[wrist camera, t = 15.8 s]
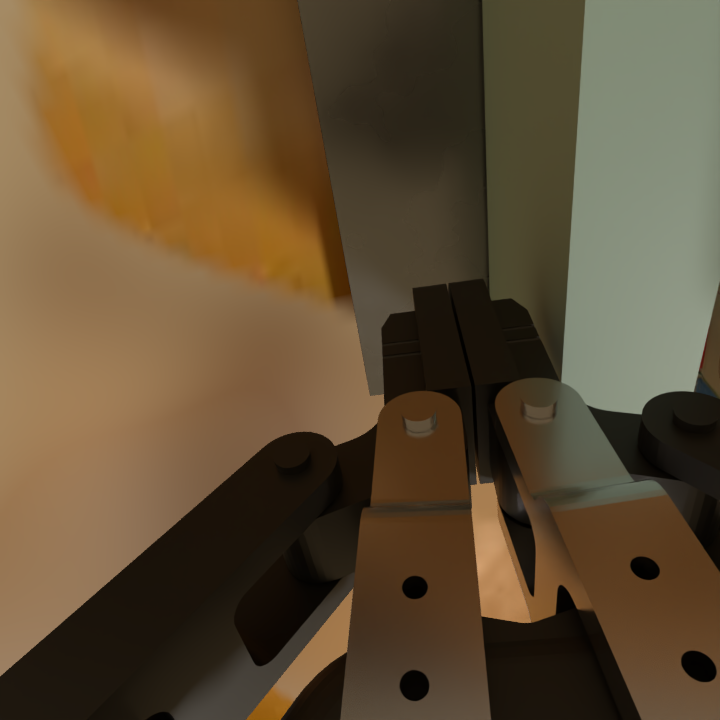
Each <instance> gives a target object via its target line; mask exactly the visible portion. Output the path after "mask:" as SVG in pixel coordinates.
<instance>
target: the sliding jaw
mask: <svg viewBox="0 0 720 720" xmlns="http://www.w3.org/2000/svg"><path fill="white" fill-rule="evenodd" d="M482 12H483V52H484V91H485V130H486V170H487V209H488V248H489V288H490V298H491V301H493V300H501V299H508V298H512V299H513V300H515V301H516V302H517V303H519V304H520V305H522V306H523V307H524V308H526V309H527V310H528V312H529V314H530V317H531V319H532V321H533V323H534V327H535V328H536V330H537V332H538V334H539V336H540V340H541V341H542V343H543V345H544V347H545V349H546V352H547V354H548V356H549V358H550V360H551V363H552V365H553V367H554V369H555V371H556V374H557V376H558V378H559V380H560V382H562V383H564V384H567V385H569V386H570V387H572V388H573V389H574V390H576V391H577V392H578V393H579V395H580V396H581V397H582V399H583V400H584V402H585V404H586V405H588V406H591V407H594V408H598V409H602V410H607V411H614V412H624V413H633V414H642V410H643V408H644V406H645V404H646V403H647V402H648V401H649V400H650V399H652V398H653V397H655V396H658V395H660V394H663V393H667V392H674V391H690V392H694V389H695V385H696V380H697V376H698V372H699V367H700V363H701V359H702V355H703V350H704V346H705V342H706V338H707V333H708V329H709V325H710V321H711V316H712V312H713V308H714V304H715V299H716V295H717V291H718V287H719V282H720V0H482Z"/></svg>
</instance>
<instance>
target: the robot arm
mask: <svg viewBox="0 0 720 720" xmlns="http://www.w3.org/2000/svg"><path fill="white" fill-rule="evenodd" d="M412 292H413V300H414V309H415V311H409V312H402V313H394V314H390V315H389V317H388V319H387V320H386V322H385V323H384V325H383V326H382V328H381V335H382V357H383V382H384V405H385V406H384V407H383V408H382V410H381V412H380V414H379V417H378V423H377V424H376V425H375V426H374V427H373V428H372V429H371V430H369V431H368V432H367V433H365V434H363V435H361V436H360V437H358V438H355V439H353V440H350V441H348V442H345V443H342V444H339V445H337V446H334V445H333V443H332V442H331V441H330V440H329V439H328V438H326V437H324V436H323V435H320V434H317V433H312V432H296V433H291V434H287V435H284V436H282V437H279V438H277V439H275V440H273V441H272V442H270V443H269V444H267V445H266V446H265V447H264V448H262V449H261V450H260V451H259V452H258V453H257V454H255V455H254V456H253V457H252V458H251V459H250V460H249V461H248V462H246V463H245V464H244V465H243V466H242V467H241V468H239V469H238V470H237V471H236V472H235V473H234V474H232V475H231V476H230V477H229V478H228V479H227V480H226V481H224V482H223V483H222V484H221V485H220V486H219V487H218V488H216V489H215V490H214V491H213V492H212V493H211V494H209V496H207V497H206V498H205V499H204V500H203V501H202V502H200V503H199V504H198V505H197V506H196V507H195V508H193V509H192V510H191V511H190V512H189V513H188V514H186V515H185V516H184V517H183V518H182V519H181V520H180V521H178V522H177V523H176V524H175V525H174V526H173V527H172V528H170V529H169V530H168V531H167V532H166V533H165V534H164V535H162V536H161V537H160V538H159V539H158V540H157V541H155V542H154V543H153V544H152V545H151V546H150V547H149V548H147V549H146V550H145V551H144V552H143V553H142V554H141V555H139V556H138V557H137V558H136V559H135V560H134V561H133V562H132V563H130V564H129V565H128V566H127V567H126V568H125V569H123V570H122V571H121V572H120V573H119V574H118V575H116V576H115V577H114V578H113V579H112V580H111V581H110V582H108V583H107V584H106V585H105V586H104V587H103V588H101V589H100V590H99V591H98V592H97V593H96V594H95V595H93V596H92V597H91V598H90V599H89V600H88V601H86V602H85V603H84V604H83V605H82V606H81V607H80V608H78V609H77V610H76V611H75V612H74V613H73V614H72V615H70V616H69V617H68V618H67V619H66V620H65V621H64V622H62V623H61V624H60V625H59V626H58V627H57V628H55V630H53V631H52V632H51V633H50V634H49V635H47V636H46V637H45V638H44V639H43V640H42V641H40V642H39V643H38V644H37V645H36V646H35V647H34V648H33V649H31V650H30V651H29V652H28V653H27V654H26V655H24V656H23V657H22V658H21V659H20V660H19V661H18V662H16V663H15V664H14V665H13V666H12V667H11V668H9V669H8V670H7V671H6V672H5V673H4V674H3V675H1V676H0V720H246V719H247V717H248V716H249V715H250V714H251V713H252V711H253V710H254V709H255V708H256V706H257V705H258V704H259V703H260V702H261V700H262V699H263V698H264V697H265V695H266V694H267V693H268V692H269V690H270V689H271V688H272V687H273V686H274V684H275V683H276V682H277V681H278V679H279V678H280V677H281V676H282V675H283V673H284V672H285V671H286V670H287V668H288V667H289V666H290V665H291V663H292V662H293V661H294V660H295V658H296V657H297V656H298V655H299V654H300V652H301V651H302V650H303V649H304V648H305V646H306V645H307V644H308V643H309V641H310V640H311V639H312V638H313V637H314V635H315V634H316V633H317V631H318V630H319V629H320V628H321V627H322V625H323V624H324V623H325V622H326V621H327V619H328V618H329V617H330V616H331V614H332V613H333V612H334V611H335V610H336V608H337V607H338V606H339V605H340V603H341V602H342V601H343V600H344V598H345V597H346V596H347V595H348V594H349V592H350V591H351V590H352V589H353V598H352V609H351V618H350V628H349V638H348V648H347V652H346V653H345V654H344V655H342V656H340V657H339V658H337V659H336V660H334V661H333V662H332V663H330V664H329V665H328V666H327V667H326V668H324V669H323V670H322V671H321V672H320V673H318V674H317V675H316V676H315V677H314V679H313V680H312V681H311V682H310V683H309V684H308V685H307V686H306V687H305V688H304V689H303V691H302V692H301V693H300V694H299V696H298V697H297V698H296V699H295V701H294V702H293V704H292V705H291V706H290V708H289V709H288V710H287V712H286V713H285V715H284V716H283V717H282V719H281V720H720V399H718V398H716V397H713V396H710V395H706V394H702V393H697V392H690V391H674V392H667V393H663V394H660V395H658V396H655V397H653V398H652V399H650V400H649V401H648V402H647V403H646V404H645V406H644V408H643V410H642V414H633V413H624V412H614V411H607V410H602V409H598V408H594V407H591V406H588V405H586V404H585V402H584V400H583V399H582V397H581V396H580V395H579V393H578V392H577V391H576V390H574V389H573V388H572V387H570V386H569V385H567V384H564V383H562V382H560V380H559V378H558V376H557V374H556V371H555V369H554V367H553V365H552V363H551V360H550V358H549V356H548V354H547V352H546V349H545V347H544V345H543V343H542V341H541V340H540V336H539V334H538V332H537V330H536V328H535V327H534V323H533V321H532V319H531V317H530V314H529V312H528V310H527V309H526V308H524V307H523V306H522V305H520V304H519V303H517V302H516V301H515V300H513V299H512V298H508V299H501V300H493V301H491V298H490V295H489V292H488V290H487V287H486V284H485V281H484V279H483V278H482V279H475V280H467V281H460V282H452V283H448V289H447V285H446V284H438V285H431V286H423V287H416V288H412ZM476 467H477V472H478V476H479V481H480V484H483V483H493V482H494V485H495V489H496V494H497V506H498V519H499V523H500V526H501V529H502V532H503V535H504V538H505V541H506V544H507V547H508V550H509V553H510V556H511V559H512V562H513V565H514V568H515V571H516V574H517V577H518V580H519V583H520V586H521V589H522V592H523V595H524V598H525V601H526V604H527V607H528V611H529V615H530V619H531V623H518V622H512V621H506V620H500V619H494V618H488V617H482V616H481V607H480V597H479V586H478V575H477V565H476V554H475V544H474V533H473V522H472V512H471V509H472V502H471V486H470V485H475V484H477V481H476ZM353 587H354V588H353Z"/></svg>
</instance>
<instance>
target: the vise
mask: <svg viewBox="0 0 720 720" xmlns="http://www.w3.org/2000/svg"><path fill="white" fill-rule="evenodd" d="M297 1H298V6H299V12H300V17H301V23H302V28H303V34H304V39H305V45H306V50H307V55H308V61H309V66H310V72H311V77H312V83H313V88H314V93H315V99H316V104H317V110H318V115H319V121H320V126H321V132H322V137H323V142H324V148H325V153H326V159H327V164H328V170H329V175H330V180H331V186H332V191H333V197H334V202H335V208H336V213H337V219H338V224H339V229H340V235H341V240H342V246H343V251H344V257H345V262H346V268H347V273H348V278H349V284H350V289H351V295H352V300H353V306H354V311H355V316H356V322H357V327H358V333H359V338H360V343H361V349H362V354H363V360H364V365H365V371H366V376H367V381H368V387H369V392H370V396H372V395H381V394H384V382H383V357H382V335H381V328H382V326H383V325H384V323H385V322H386V320H387V319H388V317H389V315H390V314H394V313H402V312H409V311H415V309H414V300H413V292H412V288H416V287H423V286H431V285H438V284H446V285H447V289H448V283H452V282H460V281H467V280H475V279H482V278H483V279H484V281H485V284H486V287H487V290H488V292H489V295H490V288H489V248H488V209H487V170H486V130H485V91H484V52H483V12H482V0H297Z"/></svg>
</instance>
